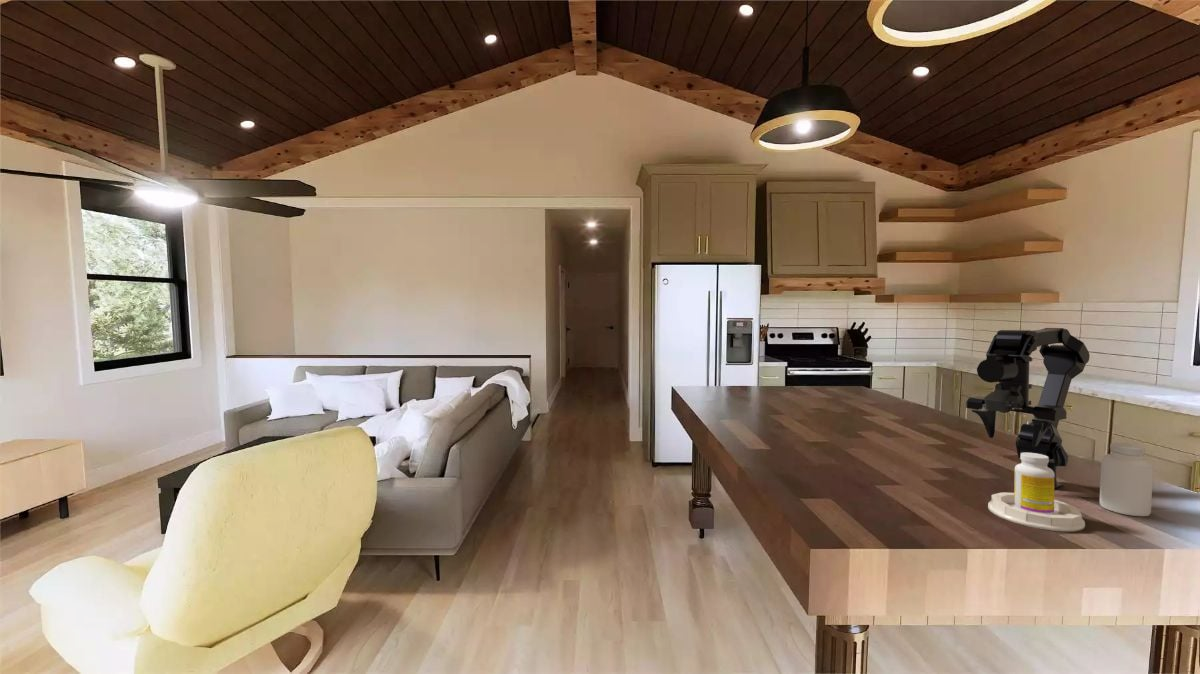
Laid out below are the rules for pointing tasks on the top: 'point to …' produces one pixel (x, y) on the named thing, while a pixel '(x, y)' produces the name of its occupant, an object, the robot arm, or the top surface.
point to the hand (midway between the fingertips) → (1012, 441)
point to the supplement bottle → (1034, 484)
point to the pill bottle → (1126, 480)
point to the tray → (1037, 514)
